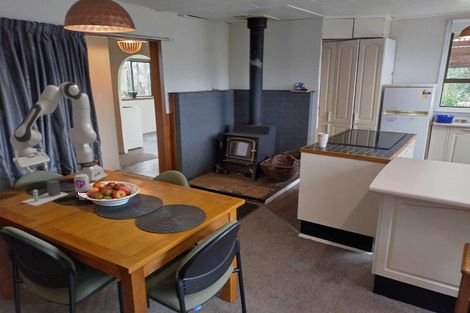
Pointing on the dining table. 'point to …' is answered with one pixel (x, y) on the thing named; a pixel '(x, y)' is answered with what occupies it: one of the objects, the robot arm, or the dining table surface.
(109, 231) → the dining table surface
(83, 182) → the supplement can
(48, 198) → the post board
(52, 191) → the dark grey block
